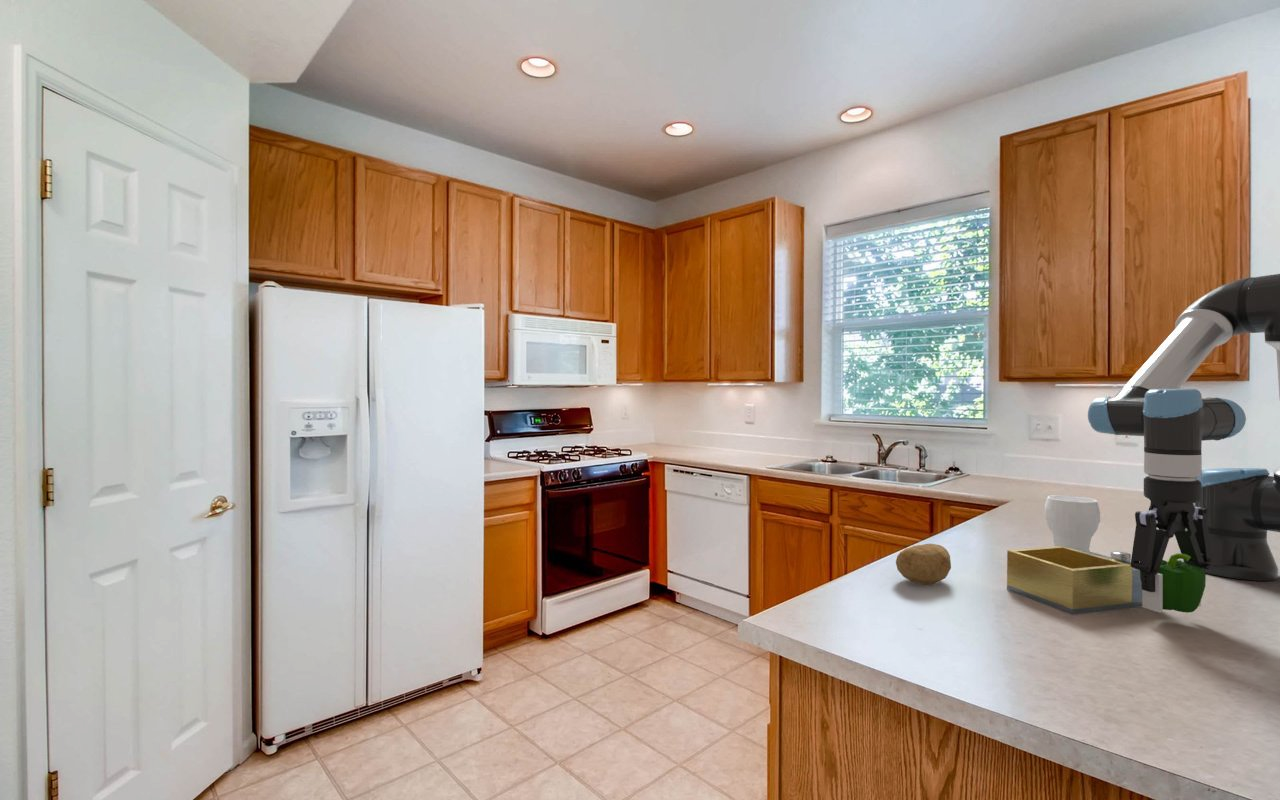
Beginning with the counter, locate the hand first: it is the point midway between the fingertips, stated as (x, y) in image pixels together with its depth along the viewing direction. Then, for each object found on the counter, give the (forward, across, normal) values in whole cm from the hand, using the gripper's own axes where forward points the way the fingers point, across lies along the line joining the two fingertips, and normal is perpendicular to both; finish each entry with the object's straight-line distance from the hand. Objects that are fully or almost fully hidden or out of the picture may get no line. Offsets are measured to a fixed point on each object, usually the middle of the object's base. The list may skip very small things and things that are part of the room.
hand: (1171, 606), depth 104 cm
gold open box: (+3, +4, -14) cm, 15 cm away
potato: (+2, +27, -29) cm, 39 cm away
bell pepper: (0, 0, 0) cm, 1 cm away
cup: (+3, -17, -33) cm, 37 cm away
